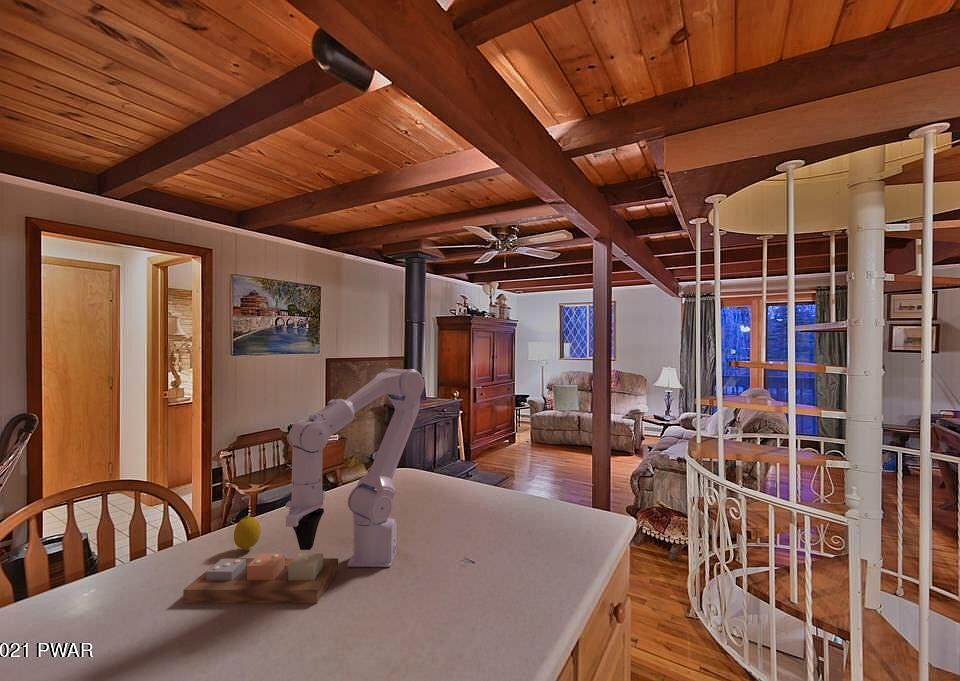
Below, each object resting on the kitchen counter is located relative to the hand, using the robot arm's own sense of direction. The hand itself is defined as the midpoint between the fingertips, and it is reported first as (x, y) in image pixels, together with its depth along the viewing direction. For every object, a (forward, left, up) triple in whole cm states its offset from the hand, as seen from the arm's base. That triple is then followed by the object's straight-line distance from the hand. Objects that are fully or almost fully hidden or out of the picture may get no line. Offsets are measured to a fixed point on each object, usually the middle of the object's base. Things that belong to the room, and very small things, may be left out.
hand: (306, 548), depth 86 cm
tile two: (+8, 0, -6) cm, 10 cm away
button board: (+8, 0, -7) cm, 11 cm away
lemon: (+20, -15, -8) cm, 26 cm away
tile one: (0, 0, -6) cm, 6 cm away
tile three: (+16, 0, -7) cm, 17 cm away
